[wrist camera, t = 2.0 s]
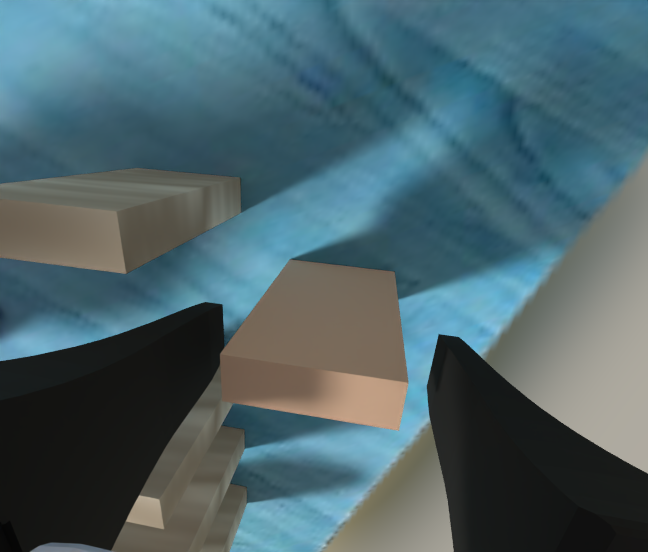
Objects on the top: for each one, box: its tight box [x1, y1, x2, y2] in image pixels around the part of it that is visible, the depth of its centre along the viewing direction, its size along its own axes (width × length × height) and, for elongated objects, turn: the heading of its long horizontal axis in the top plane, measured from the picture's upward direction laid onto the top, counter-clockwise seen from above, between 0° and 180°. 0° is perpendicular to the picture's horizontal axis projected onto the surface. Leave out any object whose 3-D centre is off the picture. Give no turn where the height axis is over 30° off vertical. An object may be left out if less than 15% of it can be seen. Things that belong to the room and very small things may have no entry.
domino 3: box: [111, 426, 245, 552], centre depth 18 cm, size 2×5×8 cm, turn 86°
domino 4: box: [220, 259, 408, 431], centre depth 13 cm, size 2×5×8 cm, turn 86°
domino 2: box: [126, 366, 233, 529], centre depth 16 cm, size 2×5×8 cm, turn 86°
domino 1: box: [0, 168, 241, 274], centre depth 12 cm, size 2×5×8 cm, turn 86°
